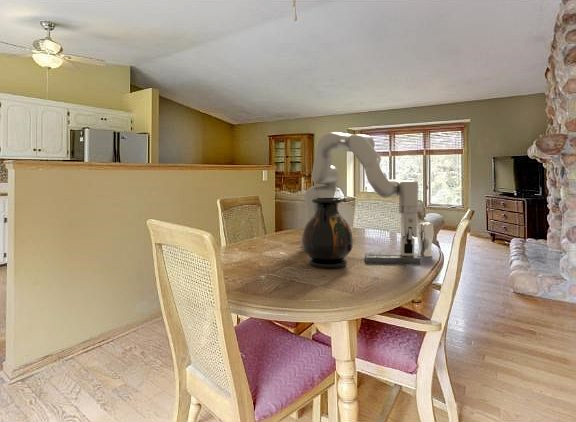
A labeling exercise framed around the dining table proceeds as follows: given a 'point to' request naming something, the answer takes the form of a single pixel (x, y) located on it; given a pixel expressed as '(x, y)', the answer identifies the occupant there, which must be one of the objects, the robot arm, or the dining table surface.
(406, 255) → the fader knob
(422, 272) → the dining table surface
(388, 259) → the fader console
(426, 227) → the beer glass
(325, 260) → the dark decorated vase
